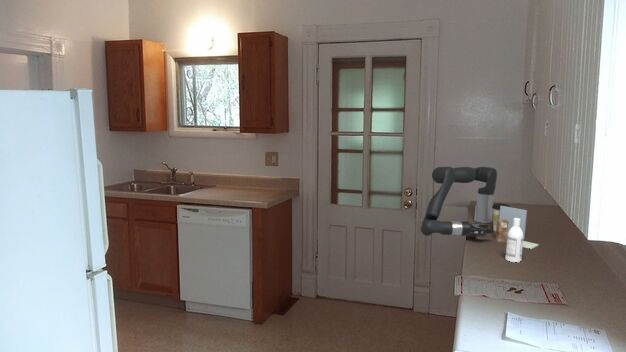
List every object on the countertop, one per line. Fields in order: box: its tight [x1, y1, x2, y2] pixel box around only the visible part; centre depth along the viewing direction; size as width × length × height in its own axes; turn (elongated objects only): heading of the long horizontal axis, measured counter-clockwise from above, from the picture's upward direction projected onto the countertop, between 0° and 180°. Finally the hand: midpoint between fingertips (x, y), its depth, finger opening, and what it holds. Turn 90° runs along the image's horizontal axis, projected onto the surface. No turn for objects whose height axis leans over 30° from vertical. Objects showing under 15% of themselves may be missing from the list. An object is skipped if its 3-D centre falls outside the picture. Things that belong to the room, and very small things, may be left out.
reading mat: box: [523, 240, 539, 250], centre depth 257 cm, size 9×9×1 cm
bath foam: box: [504, 218, 524, 263], centre depth 231 cm, size 7×7×20 cm
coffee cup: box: [492, 202, 510, 232], centre depth 282 cm, size 10×10×15 cm
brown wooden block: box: [494, 220, 509, 243], centre depth 262 cm, size 4×5×11 cm
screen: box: [499, 206, 528, 241], centre depth 270 cm, size 14×6×16 cm, turn 45°
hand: (490, 229), depth 262 cm, fingers open, 8 cm apart
